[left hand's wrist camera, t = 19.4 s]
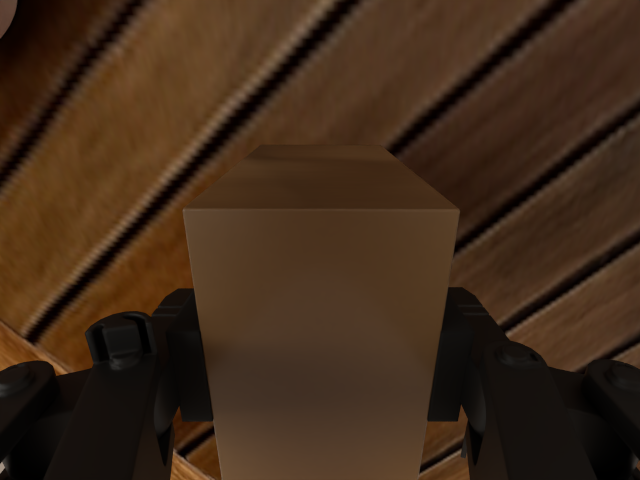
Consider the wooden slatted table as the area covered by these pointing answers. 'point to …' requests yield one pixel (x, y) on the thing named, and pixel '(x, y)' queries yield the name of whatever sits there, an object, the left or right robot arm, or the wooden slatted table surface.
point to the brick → (320, 311)
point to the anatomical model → (6, 14)
